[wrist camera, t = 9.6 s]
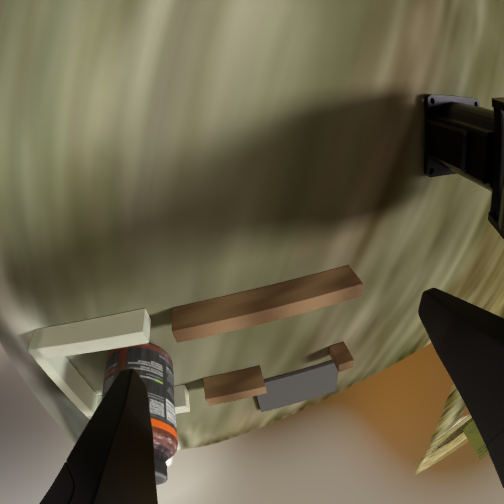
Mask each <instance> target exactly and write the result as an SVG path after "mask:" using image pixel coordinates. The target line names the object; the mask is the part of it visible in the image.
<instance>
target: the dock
mask: <svg viewBox="0 0 504 504" xmlns="http://www.w3.org/2000/svg"><path fill="white" fill-rule="evenodd" d="M150 323H151V319H150V317H149V315H148V313H147V311H146V308H144V309H140V310H135V311H130V312H125V313H120V314H115V315H110V316H105V317H100V318H95V319H90V320H84V321H79V322H74V323H68V324H63V325H58V326H52V327H46V328H41V329H36V330H35V333H34V335H33V337H32V340H31V342H30V345H29V347H28V351H29V352H30V354H31V355H32V356H33V358H34V359H35V360H36V361H37V363H38V364H39V365H40V366H41V367H42V369H43V370H44V371H45V372H46V373H47V375H48V376H49V377H50V378H51V379H52V380H53V382H54V383H55V384H56V385H57V386H58V387H59V388H60V389H61V390H62V392H63V393H64V394H65V395H66V396H67V397H68V398H69V399H70V400H71V401H72V402H73V403H74V404H75V405H76V406H77V407H78V408H79V409H80V410H81V411H82V412H83V413H84V414H85V415H86V416H87V417H88V418H89V419H91V417H92V415H93V414H94V412H95V410H96V409H97V407H98V405H99V404H100V402H101V400H102V396H98V395H97V394H96V393H95V392H94V391H93V389H92V388H91V387H90V386H89V385H88V384H87V382H86V381H85V380H84V379H83V378H82V376H81V375H80V374H79V373H78V371H77V370H76V369H75V368H74V366H73V365H72V364H71V362H70V361H69V360H68V359H67V357H66V356H69V355H76V354H83V353H90V352H97V351H104V350H110V349H116V348H122V347H128V346H134V345H140V344H145V343H149V335H150ZM174 399H175V414H177V413H184V412H190V406H189V394H188V390H187V388H186V386H185V385H179V386H174Z"/></svg>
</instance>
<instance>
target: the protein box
mask: <svg viewBox="0 0 504 504" xmlns="http://www.w3.org/2000/svg"><path fill="white" fill-rule="evenodd" d="M463 432H464V433H465V435H466V437H467V438H468V440H469V442H470V443H471V445H472V447H473V449H474V450H475V452H476V454H477V456H478V457H479V459H481V458H482V457H484V456H485V455H486V454H488V453H489V452H488V450H487V448H486V445H485V443H484V441H483V439H482V437H481V435H480V433H479V430H478V428H477V426H476V424H475V422H474V420H472V421H471V422H470V423H469V424H468V425H467V426H466V427H465V428H464V429H463Z"/></svg>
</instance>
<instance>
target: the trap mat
mask: <svg viewBox="0 0 504 504" xmlns="http://www.w3.org/2000/svg"><path fill="white" fill-rule="evenodd" d="M337 377H338V370H337V368H336V366H335V364H334V362H333V360H331V361H328V362H325V363H322V364H318V365H315V366H312V367H309V368H305V369H302V370H298V371H295V372H291V373H287V374H284V375H280V376H276V377H272V378H268V379H265V380H264V383H265V387H266V391H267V393H265V394H261V395H257V398H258V402H259V405H260V409H261V412H264V411H268V410H272V409H276V408H280V407H284V406H287V405H291V404H295V403H298V402H302V401H305V400H308V399H312V398H315V397H318V396H321V395H324V394H327V393H330V392H333V391H336V385H337Z"/></svg>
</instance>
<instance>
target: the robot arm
mask: <svg viewBox="0 0 504 504" xmlns="http://www.w3.org/2000/svg"><path fill="white" fill-rule="evenodd" d="M430 99H431V103H430ZM424 103H425V156H424V173H425V175H427V176H429V177H435V176H442V175H449V174H456V173H457V174H459V175H461V176H463V177H465V178H467V179H469V180H471V181H473V182H475V183H477V184H479V185H481V186H482V187H484V188H486V189H488V190H490V191H491V192H492V198H491V207H490V212H489V214H488V220H489V222H490V223H491V224H492V225H493V226H494V228H495V229H496V230H497V231H498V233H499V234H500V235H501V236H502V238H503V239H504V98H492V107H494V111H492V110H489V109H485V108H481V107H479V101H478V100H477V99H475V98H469V97H459V96H449V95H437V94H427V95H426V96H425V99H424ZM430 169H431V170H430ZM429 170H430V172H429ZM418 312H419V317H420V319H421V321H422V323H423V325H424V327H425V329H426V331H427V333H428V335H429V337H430V340H431V342H432V344H433V346H434V348H435V350H436V352H437V354H438V356H439V358H440V359H441V361H442V363H443V365H444V366H445V368H446V370H447V372H448V373H449V375H450V377H451V379H452V380H453V382H454V384H455V386H456V388H457V389H458V391H459V393H460V395H461V397H462V399H463V401H464V403H465V405H466V406H467V408H468V410H469V412H470V414H471V416H472V418H473V420H474V422H475V424H476V426H477V428H478V430H479V433H480V435H481V437H482V439H483V441H484V443H485V445H486V448H487V450H488V452H489V455H490V457H491V459H492V461H493V464H494V466H495V469H496V471H497V474H498V476H499V478H500V481H501V484H502V486H503V488H504V318H501V317H499V316H497V315H495V314H493V313H491V312H488V311H486V310H484V309H482V308H480V307H477V306H475V305H473V304H471V303H468V302H466V301H464V300H462V299H459V298H457V297H455V296H453V295H450V294H448V293H446V292H443V291H441V290H439V289H436V288H431V289H428V290H426V291H424V292H423V294H422V297H421V302H420V306H419V310H418ZM156 491H157V490H156V478H155V462H154V441H153V430H152V423H151V416H150V409H149V401H148V393H147V388H146V385H145V383H144V382H143V380H142V379H141V377H140V376H139V374H138V373H137V371H136V370H135V369H133V368H129V369H123V370H121V371H120V372H119V373H118V375H117V376H116V378H115V379H114V381H113V383H112V384H111V386H110V387H109V389H108V391H107V392H106V394H105V396H104V397H103V399H102V400H101V402H100V404H99V405H98V407H97V409H96V410H95V412H94V414H93V415H92V417H91V419H90V420H89V422H88V424H87V425H86V427H85V429H84V431H83V432H82V434H81V436H80V437H79V439H78V441H77V443H76V444H75V446H74V448H73V450H72V451H71V453H70V455H69V457H68V458H67V462H65V463H64V465H63V467H62V469H61V471H60V473H59V474H58V476H57V477H56V479H55V481H54V483H53V484H52V486H51V487H50V489H49V490H48V492H47V493H46V495H45V496H44V498H43V499H42V501H41V502H40V504H158V502H157V492H156Z"/></svg>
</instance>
